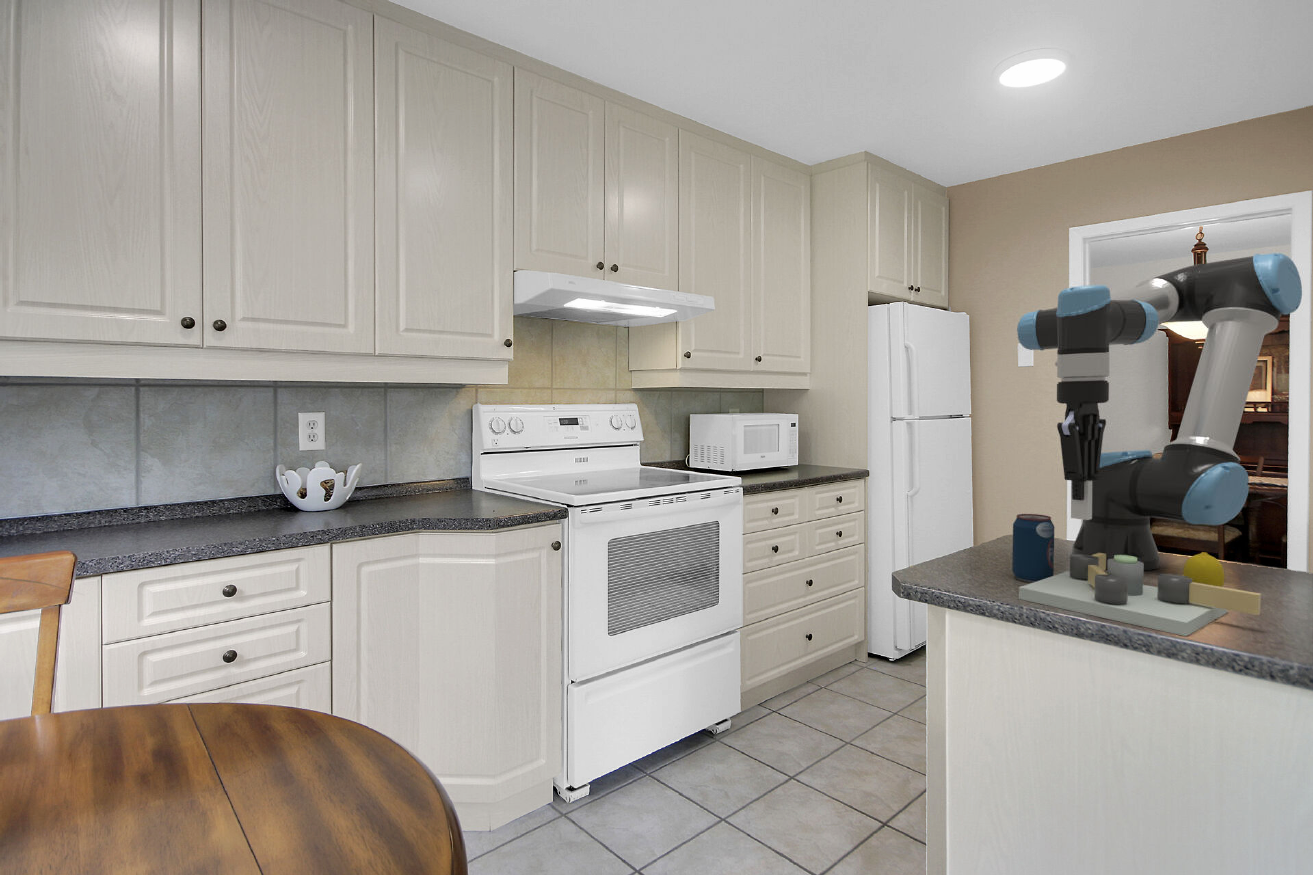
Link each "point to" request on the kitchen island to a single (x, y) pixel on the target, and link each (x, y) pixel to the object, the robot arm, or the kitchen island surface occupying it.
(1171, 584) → the knob
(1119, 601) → the front knob
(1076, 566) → the knob
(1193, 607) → the plate
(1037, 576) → the soda can
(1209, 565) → the lemon
